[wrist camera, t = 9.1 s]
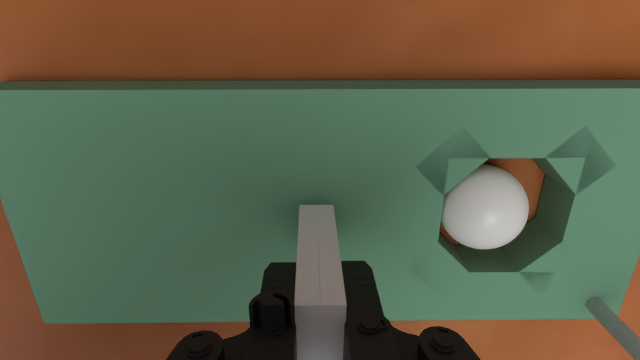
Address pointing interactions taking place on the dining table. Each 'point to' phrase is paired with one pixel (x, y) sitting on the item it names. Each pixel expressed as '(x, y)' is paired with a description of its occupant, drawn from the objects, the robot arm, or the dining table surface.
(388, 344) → the robot arm
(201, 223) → the mini golf green
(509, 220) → the ball
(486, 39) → the dining table surface
